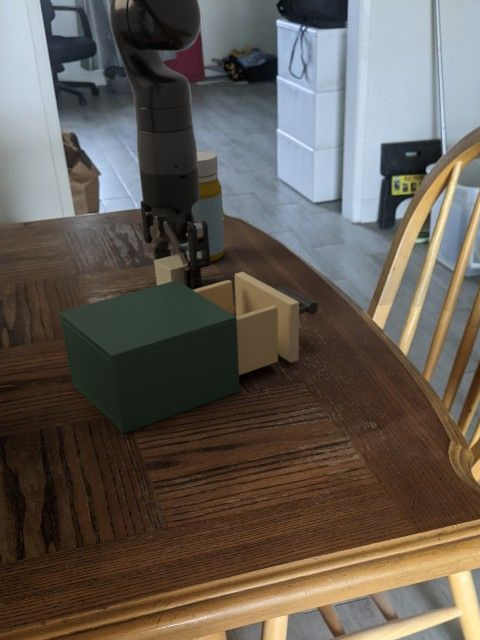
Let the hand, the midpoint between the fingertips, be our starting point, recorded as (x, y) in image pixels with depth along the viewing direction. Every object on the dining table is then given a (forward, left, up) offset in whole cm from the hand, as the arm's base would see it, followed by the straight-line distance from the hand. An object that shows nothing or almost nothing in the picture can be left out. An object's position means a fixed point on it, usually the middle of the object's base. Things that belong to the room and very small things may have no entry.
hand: (179, 285), depth 110 cm
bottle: (+10, +10, -1) cm, 14 cm away
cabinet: (-16, -22, -1) cm, 27 cm away
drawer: (-4, -22, 0) cm, 22 cm away
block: (0, 0, -1) cm, 1 cm away
